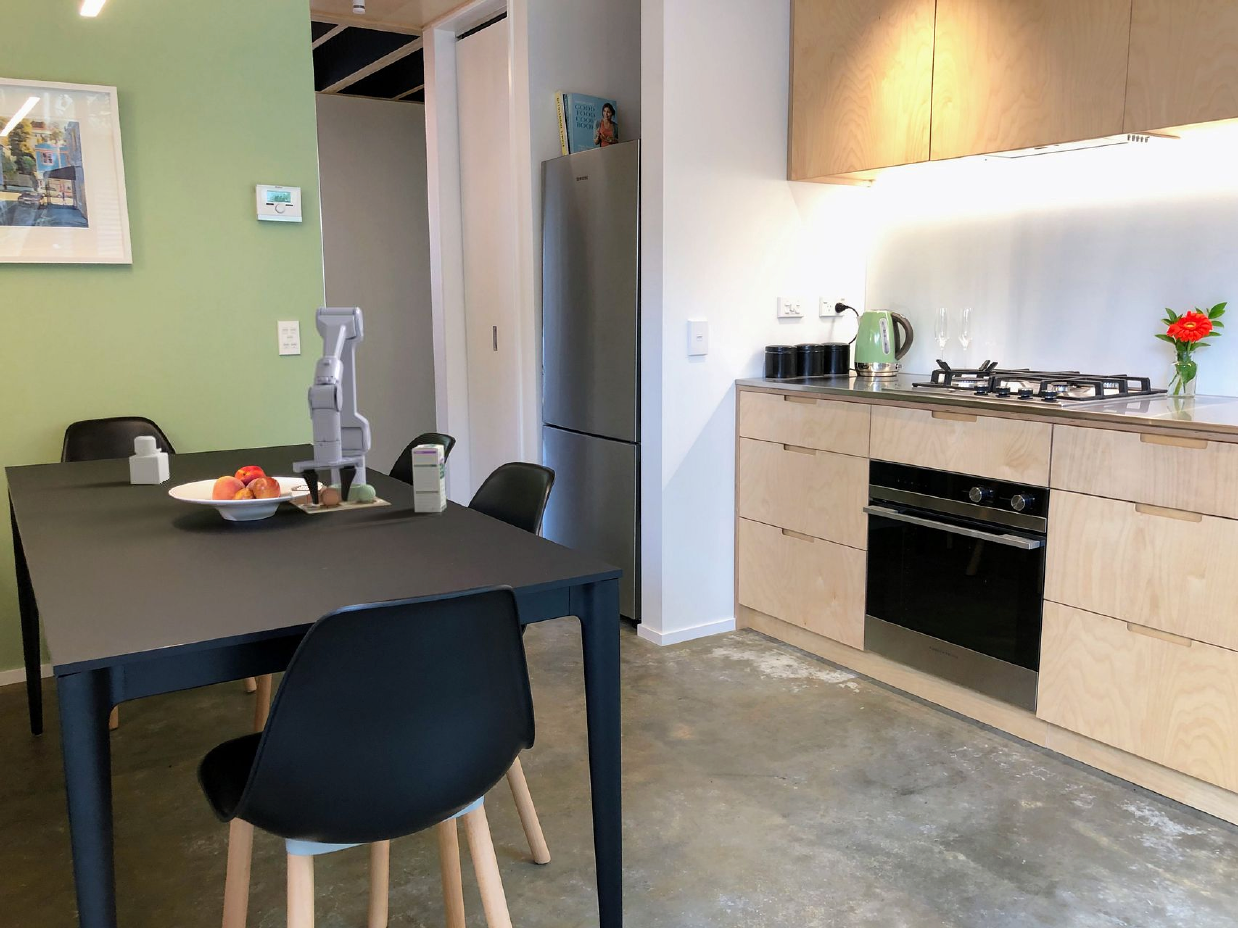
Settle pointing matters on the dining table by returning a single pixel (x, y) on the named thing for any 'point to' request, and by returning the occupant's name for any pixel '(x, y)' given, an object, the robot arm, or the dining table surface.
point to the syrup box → (429, 478)
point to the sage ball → (366, 493)
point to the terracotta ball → (330, 497)
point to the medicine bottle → (148, 461)
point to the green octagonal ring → (352, 492)
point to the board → (340, 505)
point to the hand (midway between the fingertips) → (330, 502)
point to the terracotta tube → (307, 496)
